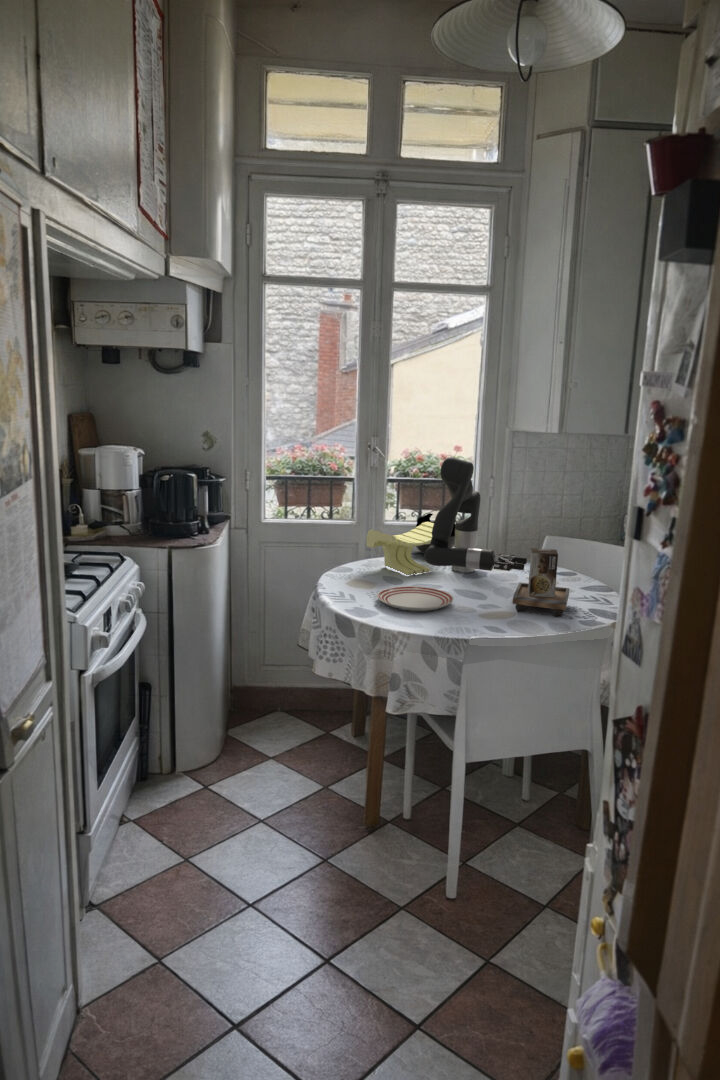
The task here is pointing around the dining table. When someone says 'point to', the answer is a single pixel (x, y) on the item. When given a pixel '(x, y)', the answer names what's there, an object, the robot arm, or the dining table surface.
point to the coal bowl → (427, 519)
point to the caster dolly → (541, 599)
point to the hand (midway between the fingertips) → (525, 564)
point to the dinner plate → (415, 598)
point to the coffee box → (543, 572)
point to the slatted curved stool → (402, 547)
